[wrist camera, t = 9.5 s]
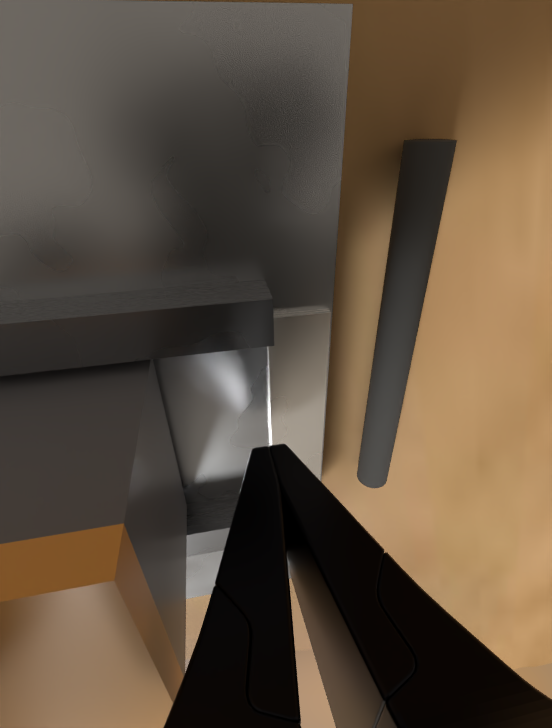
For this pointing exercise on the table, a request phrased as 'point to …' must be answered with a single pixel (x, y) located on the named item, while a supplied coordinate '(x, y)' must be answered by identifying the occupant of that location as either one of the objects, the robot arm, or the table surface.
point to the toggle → (89, 550)
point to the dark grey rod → (403, 296)
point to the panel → (179, 219)
